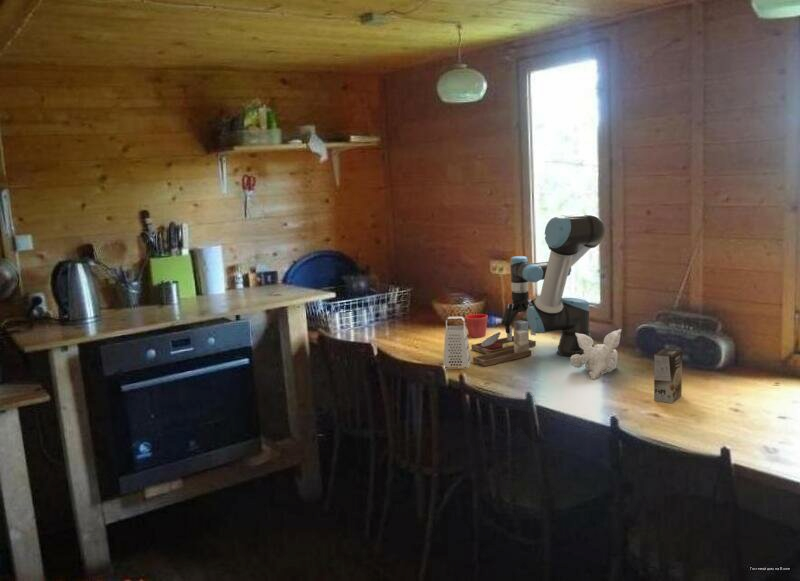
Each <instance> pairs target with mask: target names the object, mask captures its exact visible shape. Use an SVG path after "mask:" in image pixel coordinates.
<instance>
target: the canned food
mask: <svg viewBox="0 0 800 581" xmlns="http://www.w3.org/2000/svg"><path fill="white" fill-rule="evenodd" d="M500 335H501V331H499V332H496V333H494V334H492V335H491V336H489V337H488V338H486V339H484V340H483V341H482V342H480V343H481V347H483V348H486V349H489V350H495V349H500V348H504V343H500V342H496V341H497V339H500V338H499V337H500Z"/></svg>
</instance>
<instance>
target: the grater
mask: <svg viewBox="0 0 800 581" xmlns="http://www.w3.org/2000/svg"><path fill="white" fill-rule="evenodd" d="M448 319H449V320H450V319H454V320H457V319H461V320H462V321H463V325H448ZM465 323H466V320H465V317H463V316H448V317H447V318H446V319H445V332H444V346H443V348H444V349H443V363H442V366H443V365H445V367H458V368H457V369H463V368H462V367H466V368H465V369H469V368H470V366H469V365H471V363H470V362H472V356H471V351H470V345H469V340H468V331H467V325H466V324H465ZM460 367H461V368H460ZM467 367H468V368H467Z"/></svg>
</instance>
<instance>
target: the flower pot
mask: <svg viewBox="0 0 800 581" xmlns="http://www.w3.org/2000/svg"><path fill="white" fill-rule="evenodd" d="M488 317H489V316H488V314H484V313H475V314H472V313H471V314H468V315H465V317H464V319H465V323H466V324H465V326H466V330H467V334H468V336H469V338H472V337H473V338H475V339H478V337H479V338H484V337H486V334H487V327H488V326H487V325H488V319H489V318H488Z"/></svg>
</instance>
